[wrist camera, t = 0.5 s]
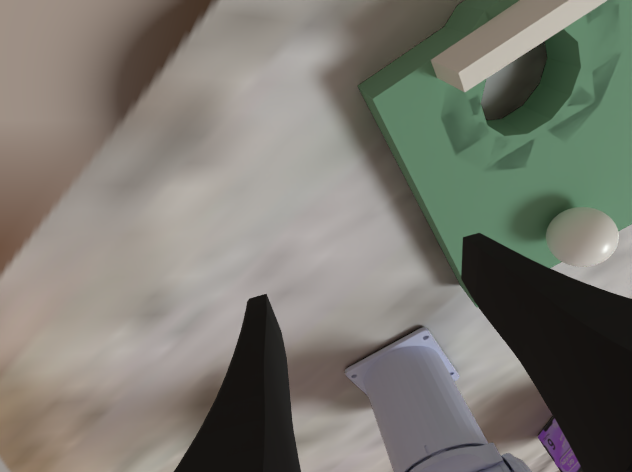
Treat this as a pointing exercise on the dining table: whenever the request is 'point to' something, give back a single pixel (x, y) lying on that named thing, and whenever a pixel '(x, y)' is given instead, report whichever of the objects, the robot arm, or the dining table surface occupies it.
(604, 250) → the ball
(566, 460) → the candy box
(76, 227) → the dining table surface
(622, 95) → the green
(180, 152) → the dining table surface
